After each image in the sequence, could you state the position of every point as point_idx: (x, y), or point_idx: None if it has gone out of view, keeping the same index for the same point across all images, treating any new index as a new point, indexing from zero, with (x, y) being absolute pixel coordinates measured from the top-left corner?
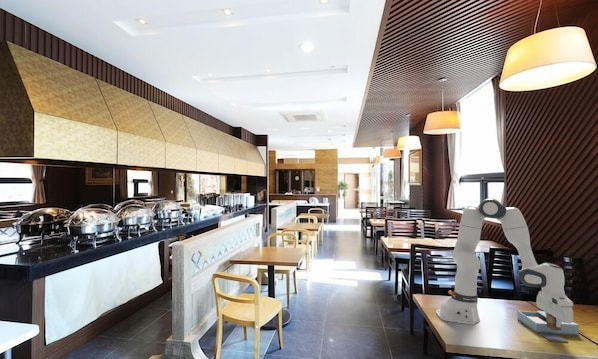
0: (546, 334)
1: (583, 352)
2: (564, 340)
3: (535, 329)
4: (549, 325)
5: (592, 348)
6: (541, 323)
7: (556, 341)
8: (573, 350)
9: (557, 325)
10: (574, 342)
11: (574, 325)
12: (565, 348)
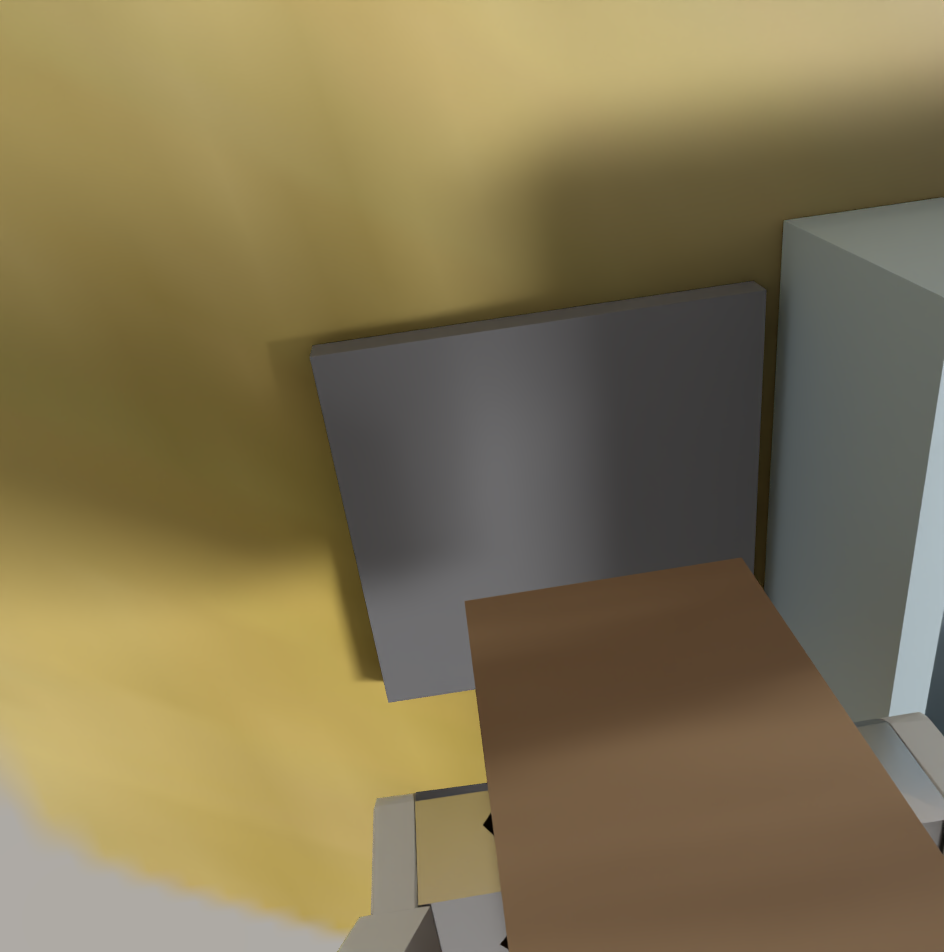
0: (667, 427)
1: (20, 753)
2: (424, 661)
3: (861, 233)
4: (632, 633)
5: (293, 921)
6: (939, 486)
7: (344, 488)
8: (18, 629)
9: (378, 855)
10: (452, 784)
11: None
12: (41, 520)
